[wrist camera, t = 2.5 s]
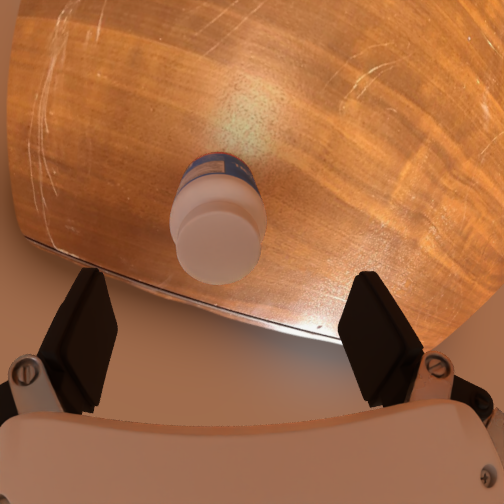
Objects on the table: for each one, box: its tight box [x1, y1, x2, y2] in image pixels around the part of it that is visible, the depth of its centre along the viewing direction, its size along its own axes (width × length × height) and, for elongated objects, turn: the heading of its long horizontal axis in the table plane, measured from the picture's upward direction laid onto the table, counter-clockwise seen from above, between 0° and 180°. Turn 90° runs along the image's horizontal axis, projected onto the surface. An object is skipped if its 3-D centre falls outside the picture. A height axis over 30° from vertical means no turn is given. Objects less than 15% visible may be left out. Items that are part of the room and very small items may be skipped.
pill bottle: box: [170, 152, 267, 285], centre depth 18 cm, size 6×5×10 cm
